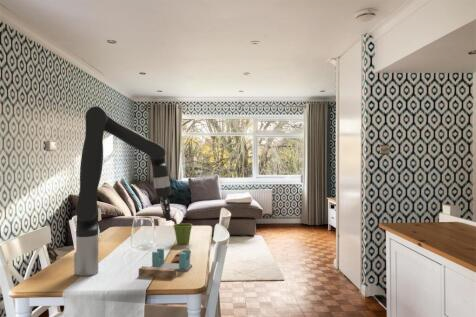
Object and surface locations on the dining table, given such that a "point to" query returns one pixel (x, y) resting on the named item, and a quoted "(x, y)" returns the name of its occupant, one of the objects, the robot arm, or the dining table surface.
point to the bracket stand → (182, 266)
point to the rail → (157, 272)
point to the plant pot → (182, 232)
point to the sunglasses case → (176, 258)
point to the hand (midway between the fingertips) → (167, 219)
